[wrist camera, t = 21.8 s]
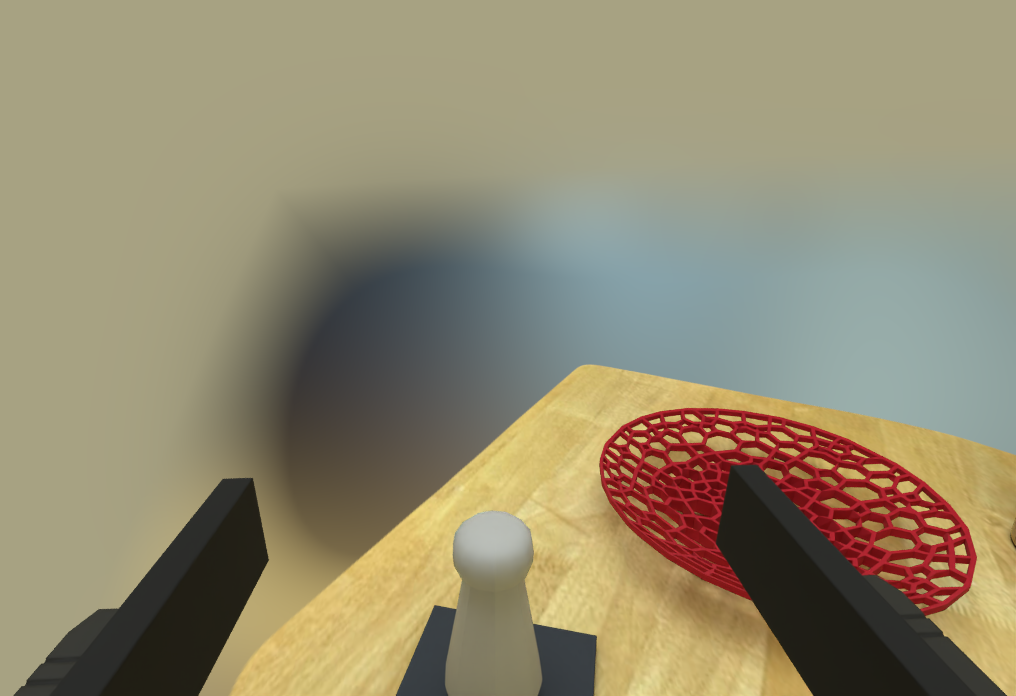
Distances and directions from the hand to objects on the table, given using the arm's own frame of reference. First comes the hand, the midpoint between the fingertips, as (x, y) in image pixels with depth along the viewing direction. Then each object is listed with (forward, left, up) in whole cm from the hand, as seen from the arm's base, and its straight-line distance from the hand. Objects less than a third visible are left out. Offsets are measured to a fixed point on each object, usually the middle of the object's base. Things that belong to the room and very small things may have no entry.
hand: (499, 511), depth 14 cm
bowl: (+17, +31, -23) cm, 43 cm away
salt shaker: (-3, +9, -22) cm, 24 cm away
